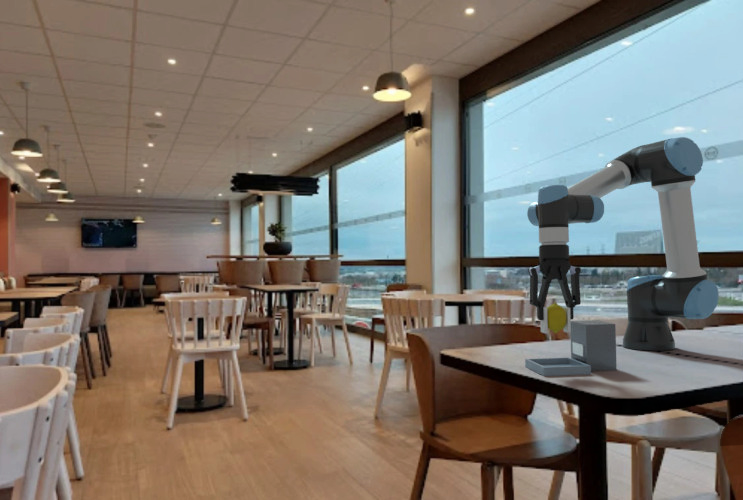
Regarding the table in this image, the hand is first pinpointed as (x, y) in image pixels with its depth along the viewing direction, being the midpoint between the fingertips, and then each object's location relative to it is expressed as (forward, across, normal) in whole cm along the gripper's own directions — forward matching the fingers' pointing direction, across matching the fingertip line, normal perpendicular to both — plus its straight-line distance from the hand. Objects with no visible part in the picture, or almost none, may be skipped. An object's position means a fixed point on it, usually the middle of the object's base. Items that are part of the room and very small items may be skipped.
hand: (555, 332), depth 144 cm
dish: (+10, 0, 0) cm, 10 cm away
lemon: (+1, 0, 0) cm, 1 cm away
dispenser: (+10, -11, -2) cm, 15 cm away
